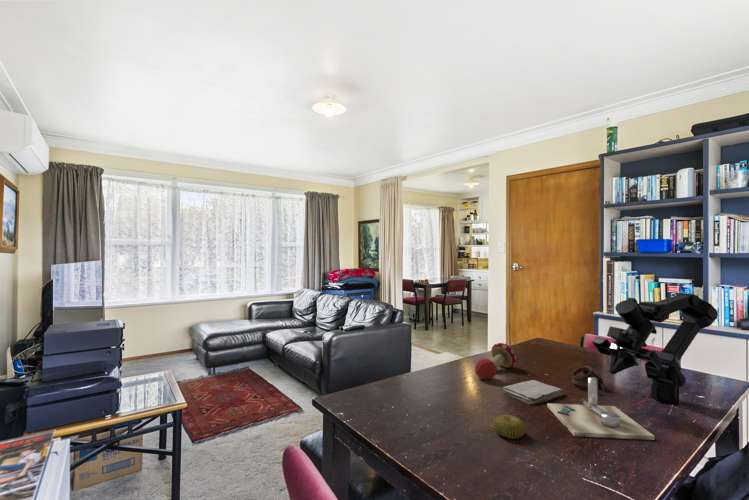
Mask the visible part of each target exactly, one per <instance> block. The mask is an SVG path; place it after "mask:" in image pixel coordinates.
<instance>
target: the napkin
mask: <svg viewBox="0 0 749 500" xmlns="http://www.w3.org/2000/svg"><path fill="white" fill-rule="evenodd" d="M546 405H547V406H546V407H547V408H548V409H549V411H551V412H552V414H554V415H555V417H556V418H557V419H558V420H559V421H560V423H562V425H563V426H564V427H565V426H566V427H567V428H568V429H567V428H566V427H565V428H566V429H567V430H568V431H569V432H570V433H571V434H572V436H574V437H584V436H585V437H587V438H588V437H589V438H604V439H605V438H607V439H627V440H647V441H655V436H656V435H654V434H652V433H651V432H650V431H648V430H647V429H646V428H644V427H643V426H642V425H640V424H639V423H638V422H636V421H635V420H634V419H632V418H631V417H630V416H628V415H627V414H626V413H624V412H623V411H621V410H620V409H619V408H617V407H616V406H614V405H597V406H598V407H600V408H601V409H603V410H604V411H607V412H612V413H615V414H617V415H619V416H620V427H617V428H614V427H609V426H606V425H604V424H602V423H601V415H599V414H598V413H596V412H595V411H594V410H592V409H591V408H589V407H588V406H587V405H585V404H573V403H572V404H569V403H568V404H567V403H546Z"/></svg>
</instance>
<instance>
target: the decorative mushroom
mask: <svg viewBox="0 0 749 500" xmlns="http://www.w3.org/2000/svg"><path fill="white" fill-rule="evenodd" d="M490 350H491V356H492V359H490V360H491V361H493V363H494V364H495V366H496V370H498V369H499V367H500V366H501V367H503V368H506V369H510V368H514V367H515V365H516V363H517V355H516V352H515V350H514V349H513V348H512V347H511V346H510V345H509V344H507V343H502V342H498V343H495V344H493V345H492V347H491V349H490Z"/></svg>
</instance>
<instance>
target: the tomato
mask: <svg viewBox="0 0 749 500" xmlns="http://www.w3.org/2000/svg"><path fill="white" fill-rule="evenodd" d="M474 369H475V370H474V371H475V374H476V375H477V377H478V378H479V379H480V380H484V381H489V380H491V379H493V378H494V377H495V376H496V373H497V370H498V369H497V370H496V366H495V364H494V363H493V361H491V359H488V358H481V359H478V361H477V362H476V363H475V366H474Z"/></svg>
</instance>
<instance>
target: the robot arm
mask: <svg viewBox="0 0 749 500" xmlns="http://www.w3.org/2000/svg"><path fill="white" fill-rule="evenodd" d="M614 308H615V311H616V312H617V314H618V315H619V317H620V318H621V319H622V320H623V322H624V323H625V324H626V325H628V327H627V328H626V329H624V328H619V327H616V326H611V325H610V326H609V328H608V331H607V334H606V337H609V338H611V339H613V340H612V342H613V343H611V342H610V341H609V340H608V339H607V338H603V337H599V336H596V337H594V339H592V341H591V344H592V345H593V346H594V347H595V348H596V349H597V351H598V352H599V353H600V354H601V355H606V356H610V363H609V371H608V372H609V374H610V375H613V376H614V375H616V374H618V373H620V372H622V371H624V370H627V369H630V368H633V367H638V366H639V361H641V360H643V361H645V363H644V368H645V373H646V378H647V379H650V380H652V381H651V382H652V383H651V384H650V394H648V395H649V397H650V398H652V399H654V400H655V401H657V402H658V403H660V404H664V405H665V404H666V405H684V402H682V401H681V400H680V388H682V387H684V386H685V384H686V380H687V378H686V377H685V375H684V374H683V373H682V366H681V359H682V358H683V357H684V355H685V353H686V351H687V350H688V348H690V345H691V344H692V342H693V341H694V340H695V338H696V337H697V335H698V333H699V332H700V331H701V330H702V329H705V328H707V327H710V326H712V325H713V323H714V322H715V321H716V320H717V318H718V316H719V312H718V310H717V309H716V308H715V306H713V304H712V303H710V302H708V301H706V300H703V298H702V299H701V298H700V297H699V296H698V295H697V294H696V293H695V294H694V293H687V292H686V293H685V292H680V293H678V294H677V295H673V296H671V297H667V298H664V299H661V300H658V301H641V302H639V303H638V300H637V298H636V297H627V299H625V300H622V301H619V302H618V303H617V304H616V305H615V306H614ZM679 311H680V312H681V317H682V322H681V324H680V325H679V326H678V328H677V329H676V331H675V332H674V333H673V335H672V336H671V337H670V339H669V341H668V342H667V344H666V345H665V347H664V348H663V349H662V350H660V351H659V350H655V349H653V350H652V349H647V348H646V347H647V346H648V345H647V340H648V338H649V337H650V336H651V334H653V335H654V334H655V335H656V334H658V332H657V329H656V325H655V324H653V322H654V323H663V322H664V321H667V320H668V319H669V318H670V315H671V314H673V313H676V312H679Z"/></svg>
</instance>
